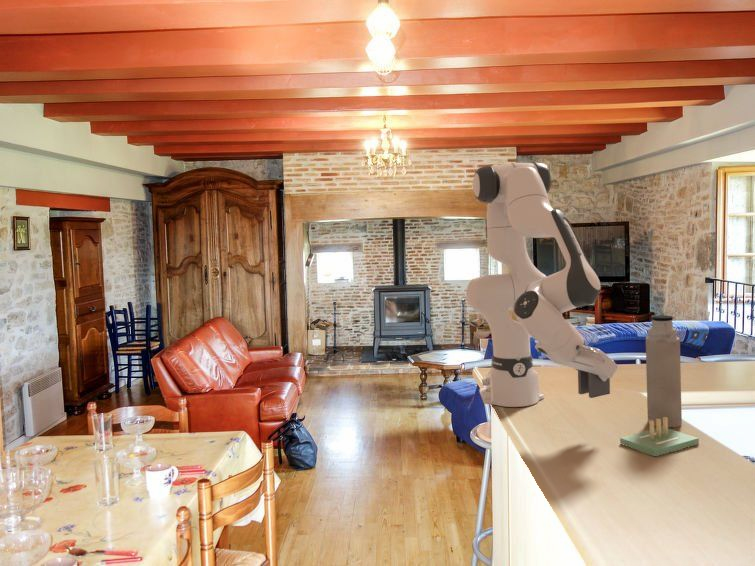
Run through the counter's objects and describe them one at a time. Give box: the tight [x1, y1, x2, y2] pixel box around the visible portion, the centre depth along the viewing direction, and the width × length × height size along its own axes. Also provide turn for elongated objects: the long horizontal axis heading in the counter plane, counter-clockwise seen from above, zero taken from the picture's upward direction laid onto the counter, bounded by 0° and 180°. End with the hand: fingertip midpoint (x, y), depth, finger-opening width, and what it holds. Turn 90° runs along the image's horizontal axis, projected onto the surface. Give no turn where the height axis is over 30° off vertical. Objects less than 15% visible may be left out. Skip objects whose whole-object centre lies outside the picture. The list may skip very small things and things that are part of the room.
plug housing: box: [577, 370, 611, 399], centre depth 151 cm, size 6×4×8 cm
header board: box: [619, 417, 700, 457], centre depth 142 cm, size 14×10×6 cm
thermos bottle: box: [645, 314, 683, 429], centre depth 155 cm, size 8×8×28 cm
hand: (595, 376), depth 151 cm, fingers closed on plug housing, 4 cm apart
